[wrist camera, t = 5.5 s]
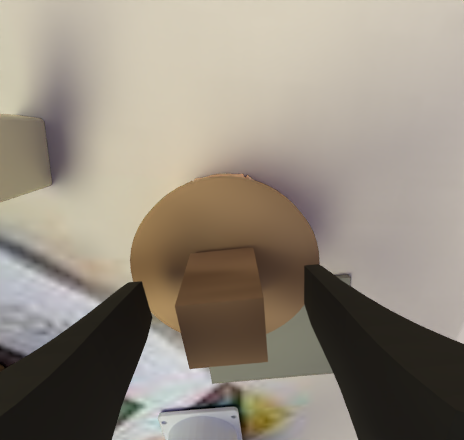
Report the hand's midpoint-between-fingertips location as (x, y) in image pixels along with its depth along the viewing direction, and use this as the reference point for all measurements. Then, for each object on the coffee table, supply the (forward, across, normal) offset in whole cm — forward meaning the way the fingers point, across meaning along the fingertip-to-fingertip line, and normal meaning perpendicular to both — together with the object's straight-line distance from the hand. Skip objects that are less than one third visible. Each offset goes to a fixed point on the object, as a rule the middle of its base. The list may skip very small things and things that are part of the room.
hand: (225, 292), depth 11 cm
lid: (+2, 0, 0) cm, 3 cm away
